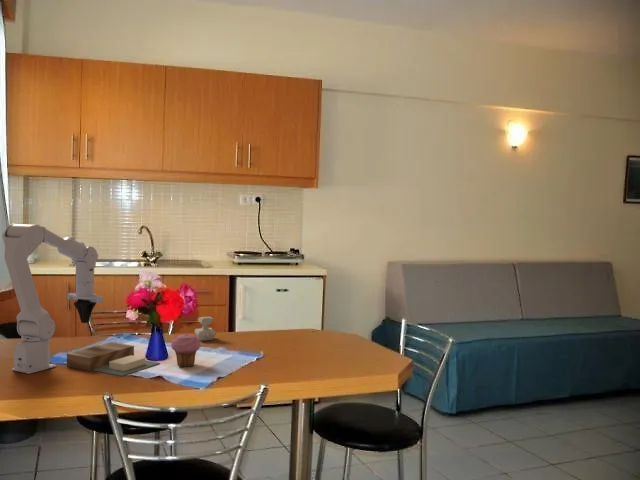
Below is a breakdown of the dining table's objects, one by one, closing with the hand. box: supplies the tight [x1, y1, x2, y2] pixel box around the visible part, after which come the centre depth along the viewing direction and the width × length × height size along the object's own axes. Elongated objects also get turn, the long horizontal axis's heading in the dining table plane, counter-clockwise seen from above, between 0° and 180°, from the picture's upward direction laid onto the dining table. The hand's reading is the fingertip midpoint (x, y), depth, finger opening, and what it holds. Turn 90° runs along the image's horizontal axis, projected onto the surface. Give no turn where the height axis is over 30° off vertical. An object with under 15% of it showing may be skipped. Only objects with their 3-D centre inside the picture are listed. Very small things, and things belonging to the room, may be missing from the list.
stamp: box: [194, 316, 217, 342], centre depth 222 cm, size 9×7×8 cm
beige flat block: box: [109, 355, 146, 371], centre depth 184 cm, size 9×6×2 cm, turn 153°
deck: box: [66, 341, 135, 372], centre depth 189 cm, size 18×10×4 cm, turn 153°
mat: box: [92, 359, 161, 377], centre depth 184 cm, size 16×12×1 cm
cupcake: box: [171, 333, 201, 368], centre depth 187 cm, size 9×9×10 cm
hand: (85, 322), depth 199 cm, fingers closed
